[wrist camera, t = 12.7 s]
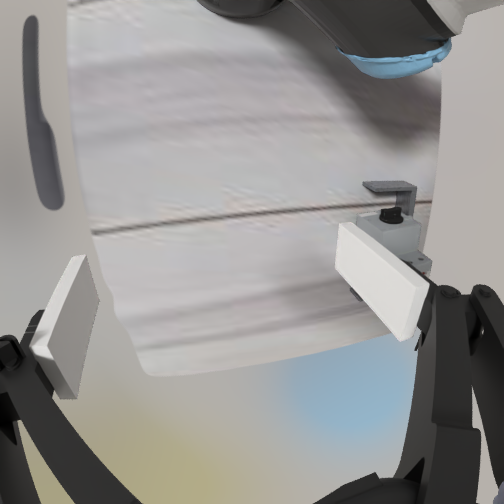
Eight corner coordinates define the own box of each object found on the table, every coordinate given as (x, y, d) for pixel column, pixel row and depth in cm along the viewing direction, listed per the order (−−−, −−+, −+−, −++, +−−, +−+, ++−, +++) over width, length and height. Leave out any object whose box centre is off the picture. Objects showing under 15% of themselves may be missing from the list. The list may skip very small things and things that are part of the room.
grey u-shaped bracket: (362, 181, 50) (375, 188, 47) (403, 180, 52) (417, 186, 48) (349, 290, 60) (359, 301, 56) (386, 282, 62) (397, 292, 58)
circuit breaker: (381, 191, 52) (438, 223, 39) (376, 262, 59) (422, 304, 46) (345, 196, 51) (400, 231, 38) (343, 270, 57) (386, 317, 44)
